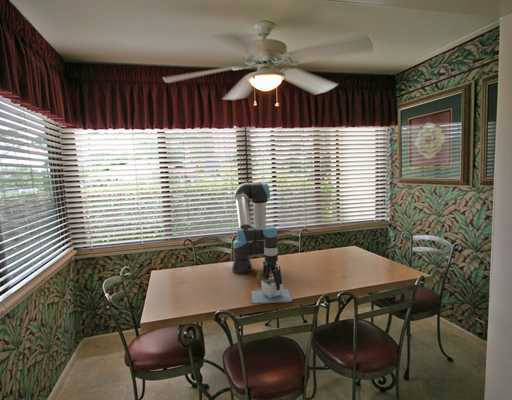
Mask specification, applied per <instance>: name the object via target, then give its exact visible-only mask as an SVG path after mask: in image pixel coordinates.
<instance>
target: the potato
mask: <svg viewBox="0 0 512 400" xmlns="http://www.w3.org/2000/svg"><path fill="white" fill-rule="evenodd" d="M262 274H263V269H260V270H258V271H257V272H256V280H257V281H258V282H259V284H260V285H261V281H262V280H265V279H264V277H263V276H262ZM269 277H270V275H269ZM270 278H271V277H270Z"/></svg>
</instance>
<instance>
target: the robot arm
mask: <svg viewBox="0 0 512 400" xmlns="http://www.w3.org/2000/svg"><path fill="white" fill-rule="evenodd" d="M269 199H271V191H270V187H269V184H268V183H267V182H266V181H264V182H263V181H262V182H261V181H255V182H244V183H241V184H240V185H239V186H237V188H236V190H235V191H234V196H233V201H234V202H235V204H236V212H237V223H238V229H236V239H235V240H234V241H233V242H232V243H233V246H232V249H233V262H232V267H231V270H232V273H234V274H237V275H239V274H249V273H251V272H253V268H254V267H253V265H252V261H251V257H252V256H253V257H254V256H264V261H263V262H262V270H263V274H262V276H263V277H264V279H265V280H266V279H269V278H271V277H269V276H270V274H272V275H273V276H272V278H273V277H274V280H275V283H276V284H275V296H278V295H280V284H282V282H283V280H282V279H283V278H282V273H281V265H279V266H278V264H277V262H278V260H279V258H278V257H279V255H278V252H279V251H278V229H277V227H275V226H267V223H266V222H267V216H266V215H267V213H266V212H267V211H266V204H267V203H268V202H269V201H268V200H269ZM249 200H250V202H251V203H252V204H253V227H252V222H251V215H250V208H249V203H248V202H249Z"/></svg>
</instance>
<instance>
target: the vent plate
mask: <svg viewBox="0 0 512 400" xmlns="http://www.w3.org/2000/svg"><path fill="white" fill-rule="evenodd" d="M269 284H270V285H271V284H275V283H273V282H271V283H269ZM291 296H292V295H291V293H290V291H289V289H288V288H283V294H281V295H278V296H275V297H272V298H270V297H268V296H266V295H265V294H263V293H262V291H261V290H251V304H252V305H256V304H258V303H260V304H274V303H276V304H277V303H292V302H293V300H292V297H291ZM258 305H259V304H258Z"/></svg>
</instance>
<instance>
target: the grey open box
mask: <svg viewBox="0 0 512 400" xmlns="http://www.w3.org/2000/svg"><path fill="white" fill-rule="evenodd" d="M271 282H273V283H275V280H274V277H273V276H272V277H270V278H269V279H266V280H262V281H261V284H260V287H261V288H260V289H261V291H262V293H263V294H265V295H266V296H268V297H270V298H272V297H275V284H276V283H275V284H271V285H270V284H269V283H271ZM283 289H284V282H283V281H282V284H280V295H281V294H283Z"/></svg>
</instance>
